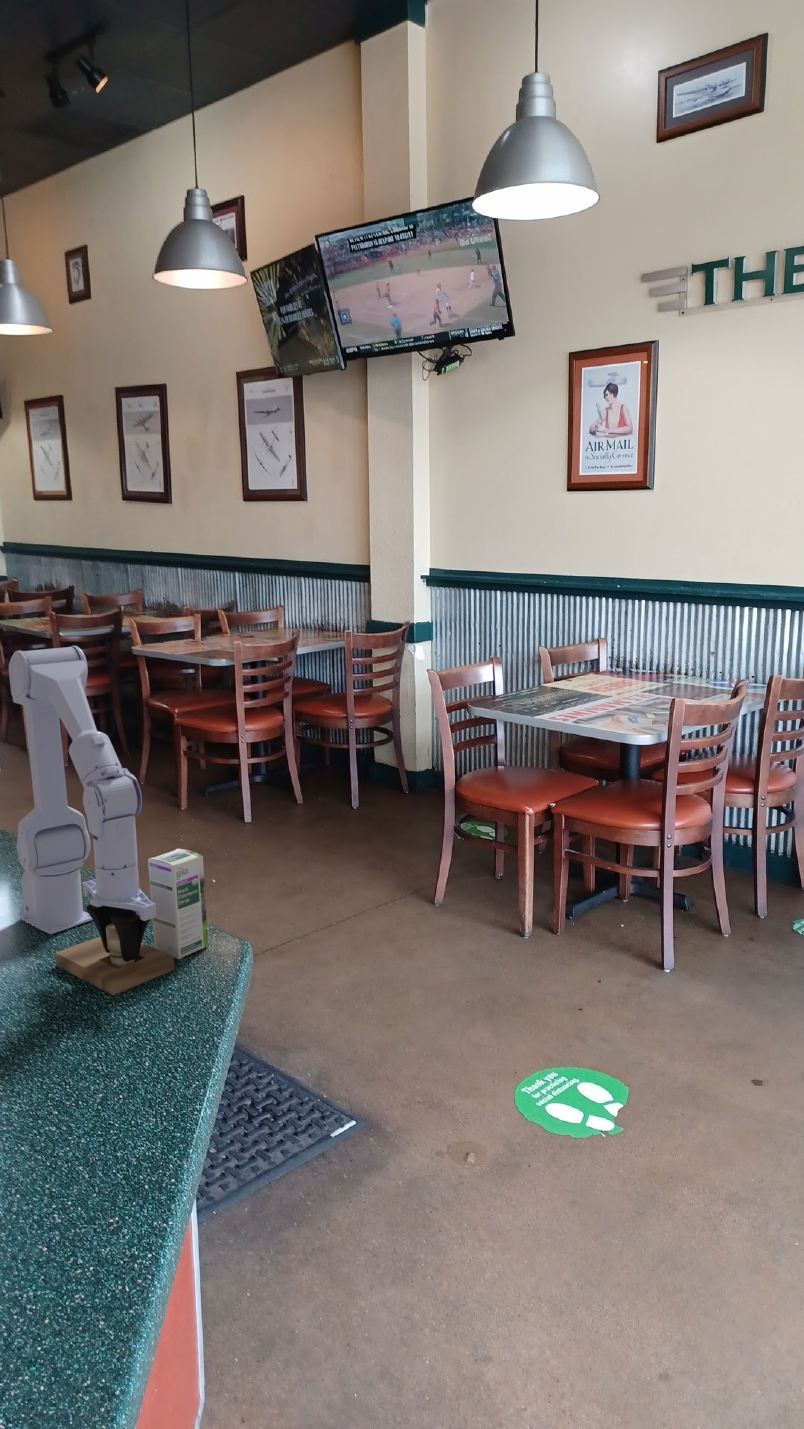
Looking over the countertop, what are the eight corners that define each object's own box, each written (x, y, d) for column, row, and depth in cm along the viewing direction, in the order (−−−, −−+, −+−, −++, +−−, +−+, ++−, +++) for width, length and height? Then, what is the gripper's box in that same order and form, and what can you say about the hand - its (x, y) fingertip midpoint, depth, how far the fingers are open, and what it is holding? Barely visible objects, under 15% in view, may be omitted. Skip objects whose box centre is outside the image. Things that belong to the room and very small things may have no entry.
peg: (103, 967, 141) (100, 927, 140) (126, 958, 144) (123, 918, 143) (119, 974, 139) (116, 933, 137) (142, 965, 141) (139, 925, 140)
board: (56, 965, 143) (55, 952, 143) (116, 943, 151) (115, 930, 151) (113, 995, 135) (112, 981, 134) (174, 969, 142) (173, 956, 142)
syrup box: (179, 960, 145) (174, 865, 142) (152, 950, 148) (147, 856, 146) (208, 947, 149) (204, 854, 147) (182, 937, 153) (177, 846, 150)
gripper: (61, 858, 140) (68, 949, 143) (122, 882, 131) (128, 979, 133) (105, 846, 145) (111, 933, 148) (166, 868, 136) (171, 961, 139)
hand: (122, 954), depth 141 cm, fingers closed on peg, 4 cm apart
